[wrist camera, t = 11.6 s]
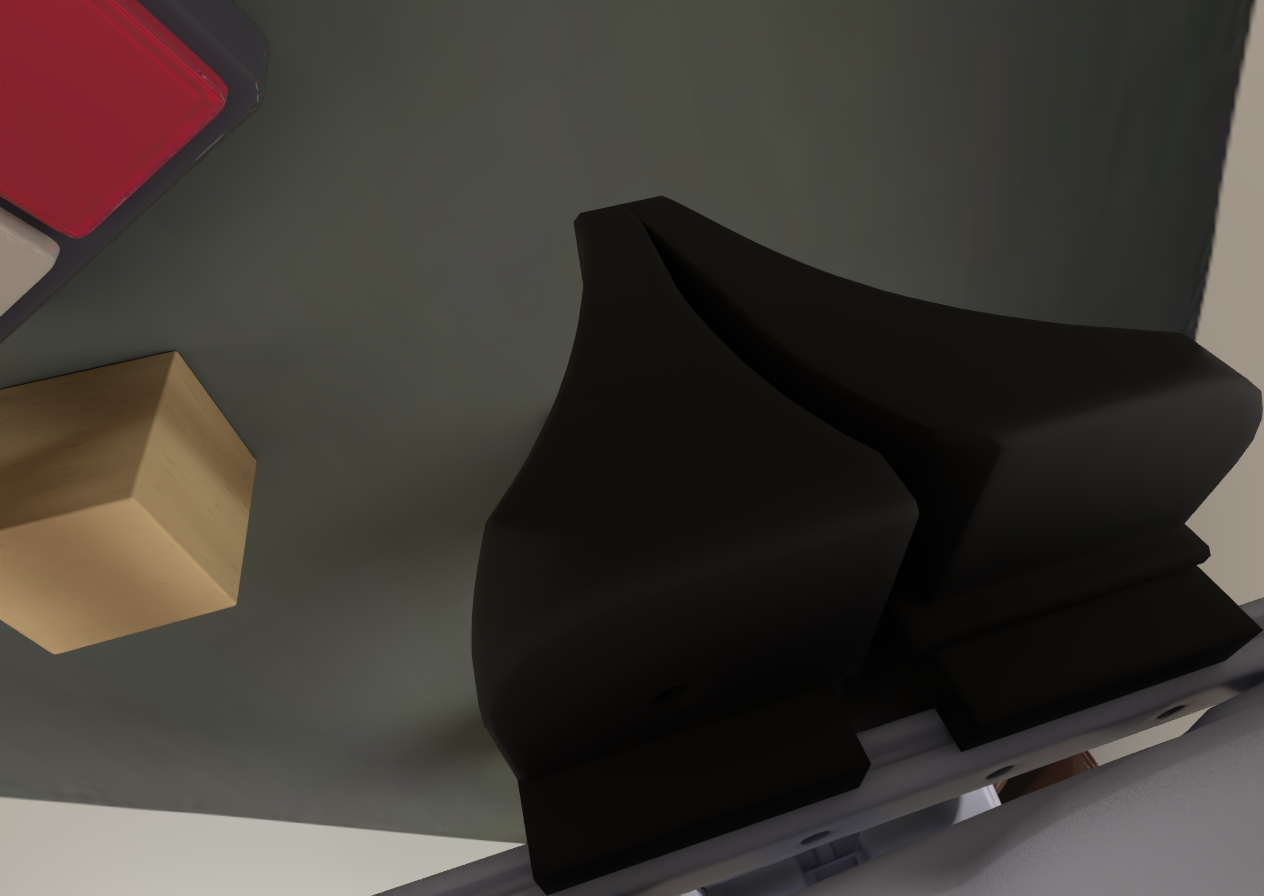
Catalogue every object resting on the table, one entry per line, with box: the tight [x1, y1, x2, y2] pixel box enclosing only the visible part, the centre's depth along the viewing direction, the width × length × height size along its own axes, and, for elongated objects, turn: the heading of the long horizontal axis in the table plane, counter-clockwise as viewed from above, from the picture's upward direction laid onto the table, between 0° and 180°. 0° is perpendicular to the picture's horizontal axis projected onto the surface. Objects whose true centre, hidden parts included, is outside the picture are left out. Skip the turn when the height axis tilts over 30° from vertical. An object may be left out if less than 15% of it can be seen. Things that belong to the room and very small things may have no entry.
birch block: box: [0, 351, 257, 654], centre depth 20 cm, size 5×5×6 cm
